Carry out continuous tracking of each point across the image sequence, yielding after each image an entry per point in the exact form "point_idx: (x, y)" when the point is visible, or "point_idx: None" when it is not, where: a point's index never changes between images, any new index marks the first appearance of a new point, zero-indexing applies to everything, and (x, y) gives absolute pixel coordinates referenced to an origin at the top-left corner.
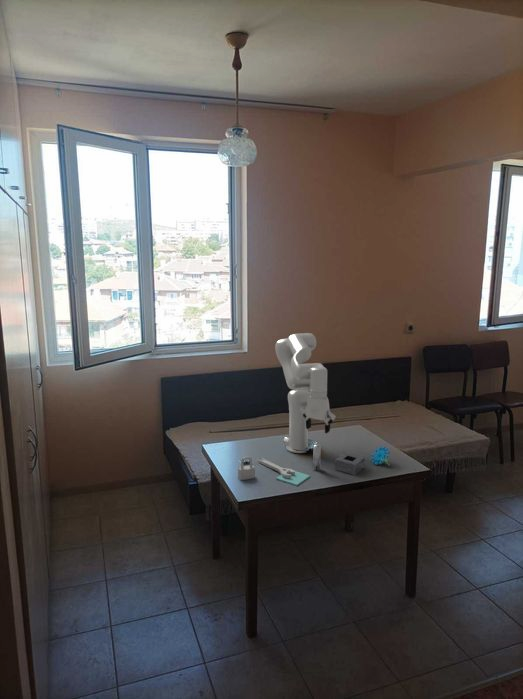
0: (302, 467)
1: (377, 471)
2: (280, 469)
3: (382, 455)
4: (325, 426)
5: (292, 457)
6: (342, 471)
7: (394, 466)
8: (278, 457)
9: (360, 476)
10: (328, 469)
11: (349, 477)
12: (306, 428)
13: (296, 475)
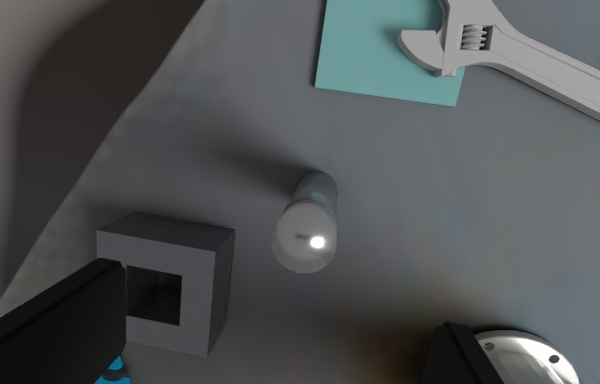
0: (396, 180)
1: None
2: (505, 30)
3: None
4: (4, 326)
5: (494, 275)
6: (196, 223)
7: None
8: (577, 244)
9: (109, 210)
10: (264, 217)
11: (144, 177)
12: (464, 325)
13: (386, 48)
